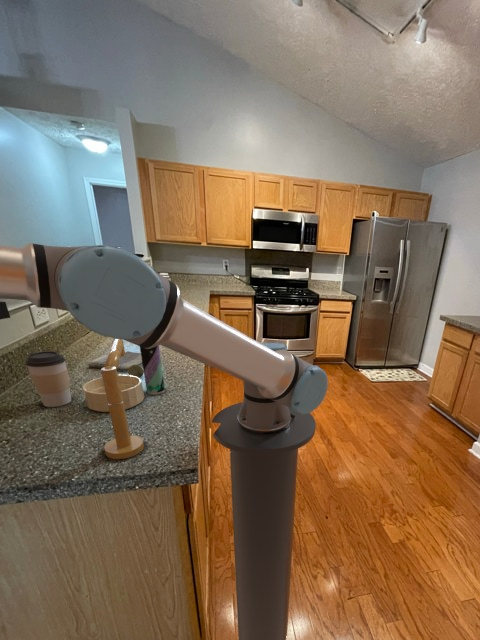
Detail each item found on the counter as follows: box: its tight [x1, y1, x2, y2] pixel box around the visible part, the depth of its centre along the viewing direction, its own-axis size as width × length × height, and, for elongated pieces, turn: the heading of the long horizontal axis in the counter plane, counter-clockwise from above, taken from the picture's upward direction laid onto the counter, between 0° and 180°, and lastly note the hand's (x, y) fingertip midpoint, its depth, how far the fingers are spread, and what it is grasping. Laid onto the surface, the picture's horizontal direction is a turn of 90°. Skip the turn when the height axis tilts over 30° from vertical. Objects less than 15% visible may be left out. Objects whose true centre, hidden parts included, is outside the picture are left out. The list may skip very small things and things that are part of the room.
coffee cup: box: [25, 350, 72, 408], centre depth 91 cm, size 9×9×15 cm
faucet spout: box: [100, 339, 126, 404], centre depth 78 cm, size 29×3×8 cm, turn 24°
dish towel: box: [87, 350, 143, 372], centre depth 128 cm, size 19×18×3 cm
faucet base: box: [103, 401, 145, 460], centre depth 71 cm, size 8×8×12 cm
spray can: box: [139, 345, 166, 396], centre depth 101 cm, size 6×6×20 cm
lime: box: [127, 365, 144, 379], centre depth 114 cm, size 4×5×5 cm
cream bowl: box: [82, 374, 145, 413], centre depth 95 cm, size 15×15×6 cm
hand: (4, 309), depth 55 cm, fingers closed
